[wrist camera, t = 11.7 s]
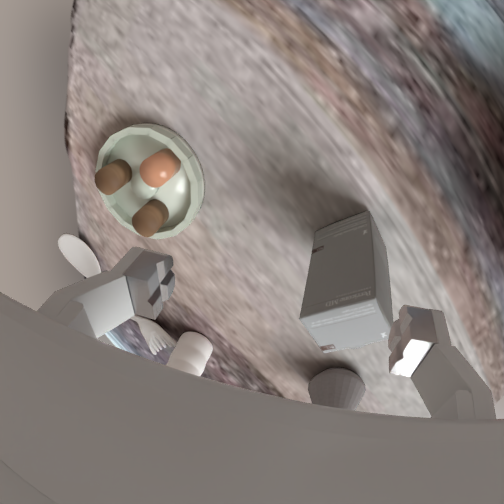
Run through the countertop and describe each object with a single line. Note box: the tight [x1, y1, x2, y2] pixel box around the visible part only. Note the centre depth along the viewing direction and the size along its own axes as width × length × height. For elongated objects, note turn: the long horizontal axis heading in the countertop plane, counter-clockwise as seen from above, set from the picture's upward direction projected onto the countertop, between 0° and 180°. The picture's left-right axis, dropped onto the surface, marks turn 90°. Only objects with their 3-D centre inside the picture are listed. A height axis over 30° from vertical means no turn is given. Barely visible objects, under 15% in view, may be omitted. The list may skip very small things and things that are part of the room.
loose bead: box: [139, 148, 181, 188], centre depth 39 cm, size 4×4×4 cm
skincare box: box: [299, 210, 393, 353], centre depth 35 cm, size 8×7×16 cm
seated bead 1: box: [95, 159, 132, 195], centre depth 42 cm, size 4×4×4 cm
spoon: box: [58, 233, 177, 355], centre depth 59 cm, size 9×32×4 cm, turn 39°
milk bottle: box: [166, 332, 213, 376], centre depth 53 cm, size 7×7×25 cm
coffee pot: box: [308, 368, 366, 411], centre depth 56 cm, size 21×12×15 cm, turn 132°
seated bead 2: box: [132, 199, 169, 237], centre depth 44 cm, size 4×4×4 cm
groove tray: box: [96, 123, 205, 239], centre depth 43 cm, size 17×17×2 cm
